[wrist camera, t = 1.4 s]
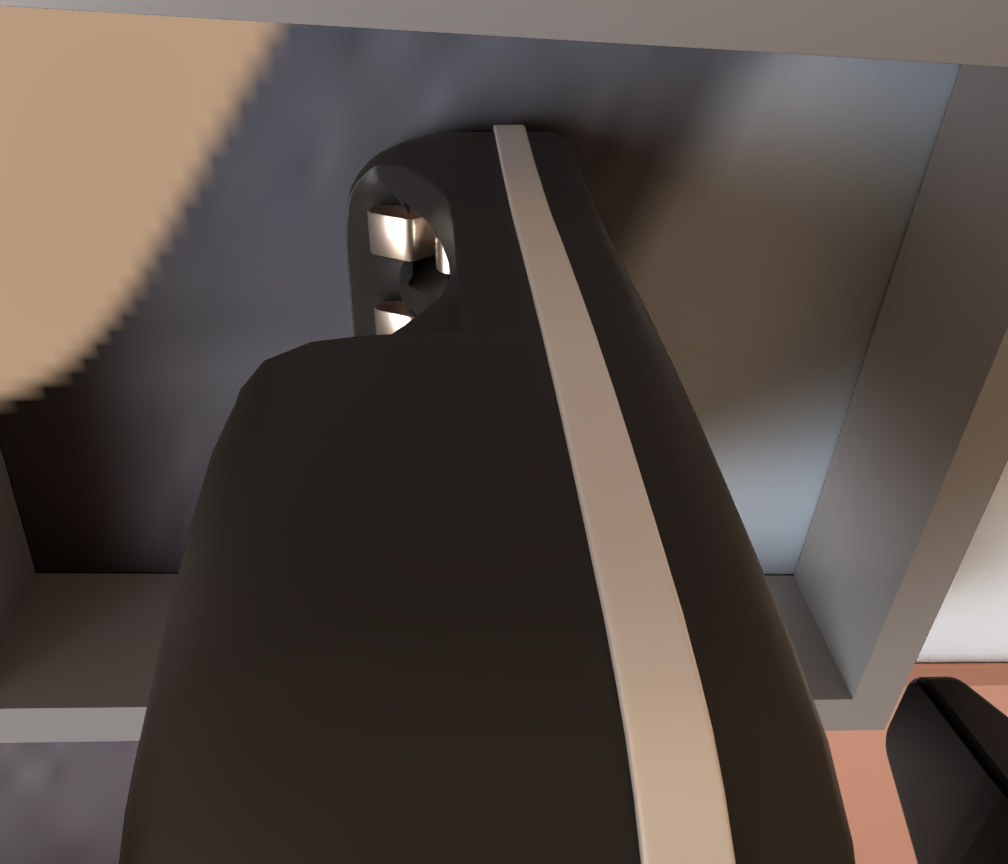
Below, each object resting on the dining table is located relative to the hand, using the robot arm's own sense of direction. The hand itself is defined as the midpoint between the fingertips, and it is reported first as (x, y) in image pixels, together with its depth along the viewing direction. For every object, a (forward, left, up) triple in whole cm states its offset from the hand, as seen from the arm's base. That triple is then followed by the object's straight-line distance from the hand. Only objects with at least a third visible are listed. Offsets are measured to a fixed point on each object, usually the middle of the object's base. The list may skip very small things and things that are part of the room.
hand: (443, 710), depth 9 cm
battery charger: (0, 0, -7) cm, 7 cm away
